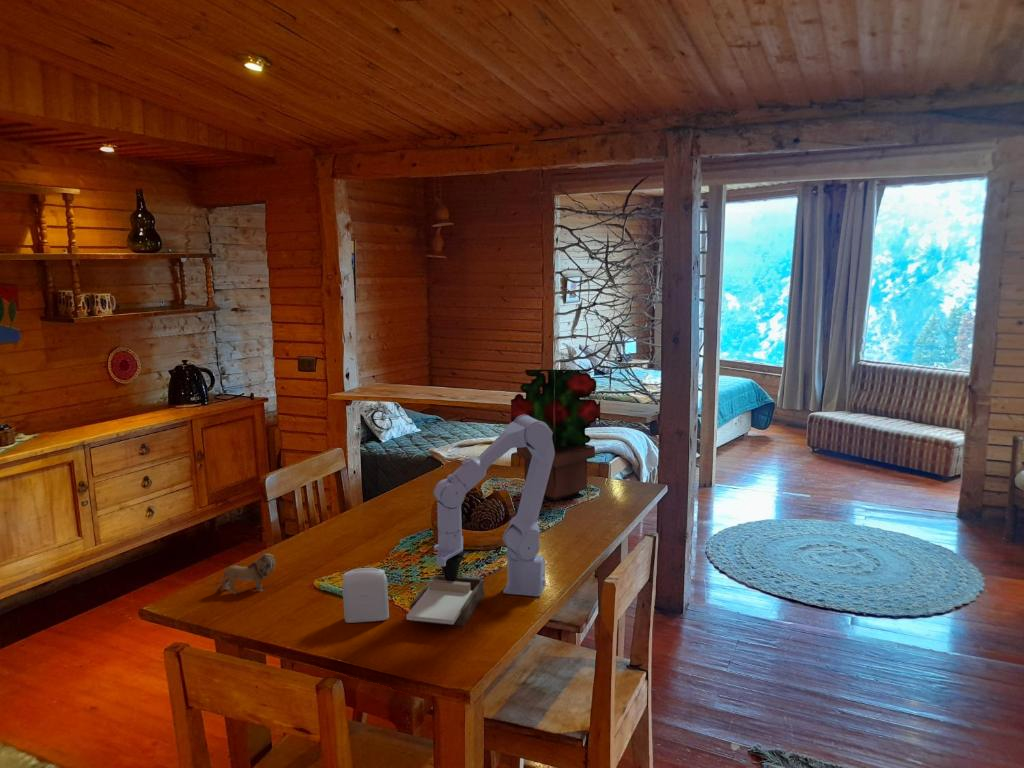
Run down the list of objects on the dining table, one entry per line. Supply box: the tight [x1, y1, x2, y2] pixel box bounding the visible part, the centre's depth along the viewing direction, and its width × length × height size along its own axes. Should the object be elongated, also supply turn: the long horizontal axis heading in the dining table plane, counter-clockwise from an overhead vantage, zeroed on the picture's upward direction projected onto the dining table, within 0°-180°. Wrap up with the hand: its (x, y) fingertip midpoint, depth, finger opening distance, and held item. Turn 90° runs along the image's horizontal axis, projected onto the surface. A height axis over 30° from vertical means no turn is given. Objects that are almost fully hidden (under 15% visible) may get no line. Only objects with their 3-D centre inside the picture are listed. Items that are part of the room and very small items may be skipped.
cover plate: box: [405, 578, 473, 624], centre depth 169 cm, size 15×11×3 cm
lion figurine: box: [215, 552, 276, 595], centre depth 186 cm, size 15×5×9 cm, turn 108°
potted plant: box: [510, 367, 601, 502], centre depth 257 cm, size 22×22×45 cm
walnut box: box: [409, 574, 485, 628], centre depth 175 cm, size 17×13×4 cm
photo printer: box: [341, 567, 390, 624], centre depth 169 cm, size 10×4×12 cm, turn 96°
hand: (451, 582), depth 177 cm, fingers closed
